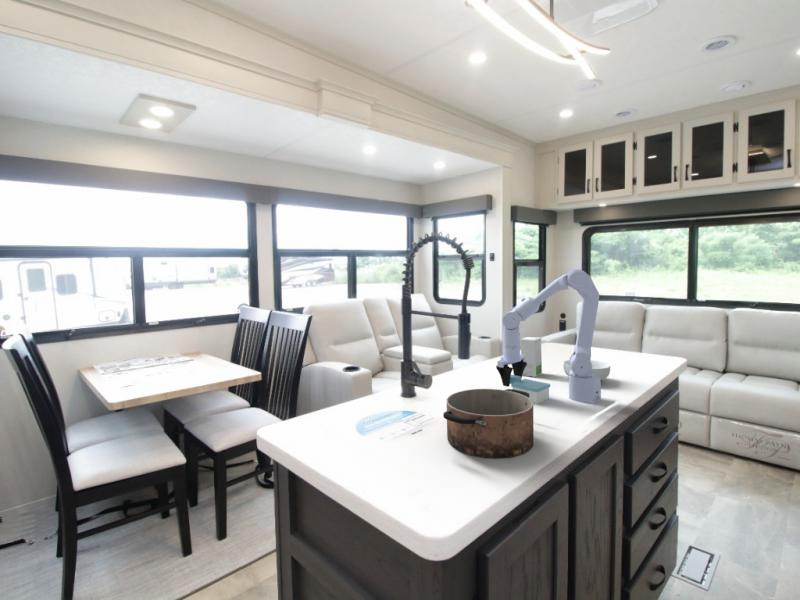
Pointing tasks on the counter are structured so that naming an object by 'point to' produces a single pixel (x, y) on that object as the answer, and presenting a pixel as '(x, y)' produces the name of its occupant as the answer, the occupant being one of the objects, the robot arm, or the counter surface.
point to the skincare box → (532, 356)
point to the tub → (536, 395)
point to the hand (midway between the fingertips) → (512, 383)
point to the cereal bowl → (593, 369)
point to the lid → (527, 384)
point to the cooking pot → (490, 422)
